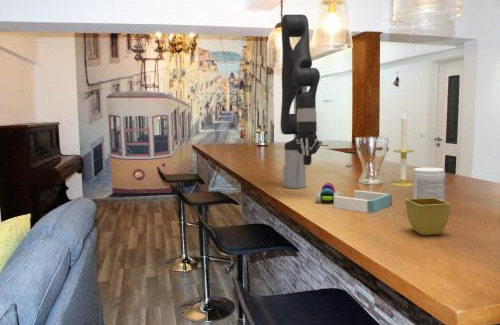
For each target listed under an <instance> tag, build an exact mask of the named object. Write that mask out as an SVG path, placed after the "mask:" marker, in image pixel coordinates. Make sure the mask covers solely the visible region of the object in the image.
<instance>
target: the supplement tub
mask: <svg viewBox="0 0 500 325" xmlns="http://www.w3.org/2000/svg"><path fill="white" fill-rule="evenodd" d="M412 183H413V186H412V191H413V192H412V193H413V194H412V195H413V196H412V199H420V198H436V199H439V200H441V201H444V202H446V173H445V169H444V168H441V167H426V166H425V167H417V168H415V167H414V169H413V174H412Z"/></svg>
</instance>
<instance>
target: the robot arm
mask: <svg viewBox="0 0 500 325" xmlns="http://www.w3.org/2000/svg"><path fill="white" fill-rule="evenodd" d="M280 26H281V29H280V30H281V44H282V45H281V47H282V55H281V56H282V58H281V59H282V62H281V110H280V131H281V133H282V135H286V136H287V135H295V137H294V138H293V139H292V140H290V141H288V142H285V143H284V165H283V166H282V171H283V174H282V176H283V178H282V179H283V181H282V182H283V187H285V188H286V189H287V188H288V189H302V188H303V189H304V188H305V187H307V185H306V182H307V181H306V180H307V179H306V166H310V165H311V164H312V155H314V154H316V153H317V152H318V150H319V149H320V148H321V146H322V144H323V142H322V140H320V139H318V135H317V131H318V128H317V125H318V124H317V119H318V118H317V110H316V109H317V107H316V96H317V90H318V86H319V82H320V78H321V74H320V71H319V69H318V68H316V67H312V65H313V60H312V54H311V50H310V27H309V20H308V17H307V16H306V15H305V14H302V13H301V14H284V15H283V16H282V19H281V25H280ZM290 38H300V39H299V40H298V41H297V43H296V44H295V45H294V47H293V48H292V44H291V39H290ZM304 87H306V88H307V87H309V89H308V90H307V91H306V92H301V93H299V92H300V91H301V89H302V88H304ZM296 96H297V98H296ZM295 98H296V101H297V102H296V106H297V108H296V113H290V112H291V107H292V103H293V102H294V100H295Z"/></svg>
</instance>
